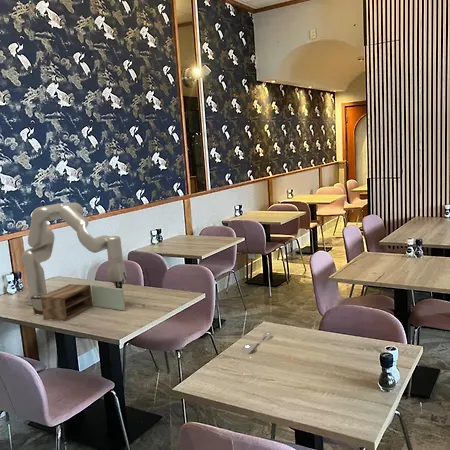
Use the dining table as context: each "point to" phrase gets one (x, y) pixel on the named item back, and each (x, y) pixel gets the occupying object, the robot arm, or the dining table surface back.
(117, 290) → the cabinet door
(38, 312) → the food container
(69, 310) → the wooden shelf
